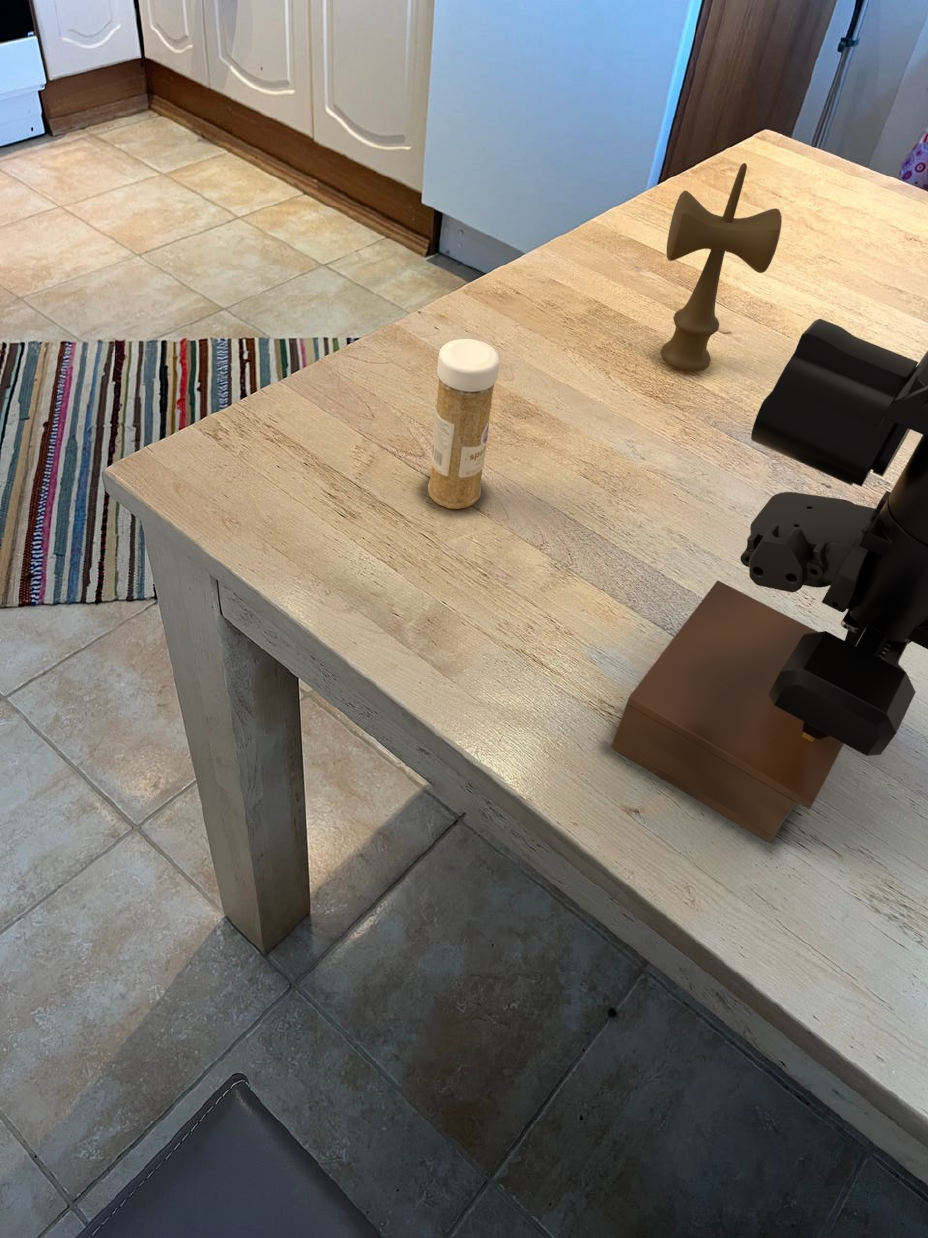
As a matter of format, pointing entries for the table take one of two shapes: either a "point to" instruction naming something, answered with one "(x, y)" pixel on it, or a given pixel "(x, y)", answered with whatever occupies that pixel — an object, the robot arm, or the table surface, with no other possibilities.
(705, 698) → the lid
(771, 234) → the kendama
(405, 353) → the table surface
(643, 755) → the keepsake box
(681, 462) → the table surface
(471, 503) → the spice jar
